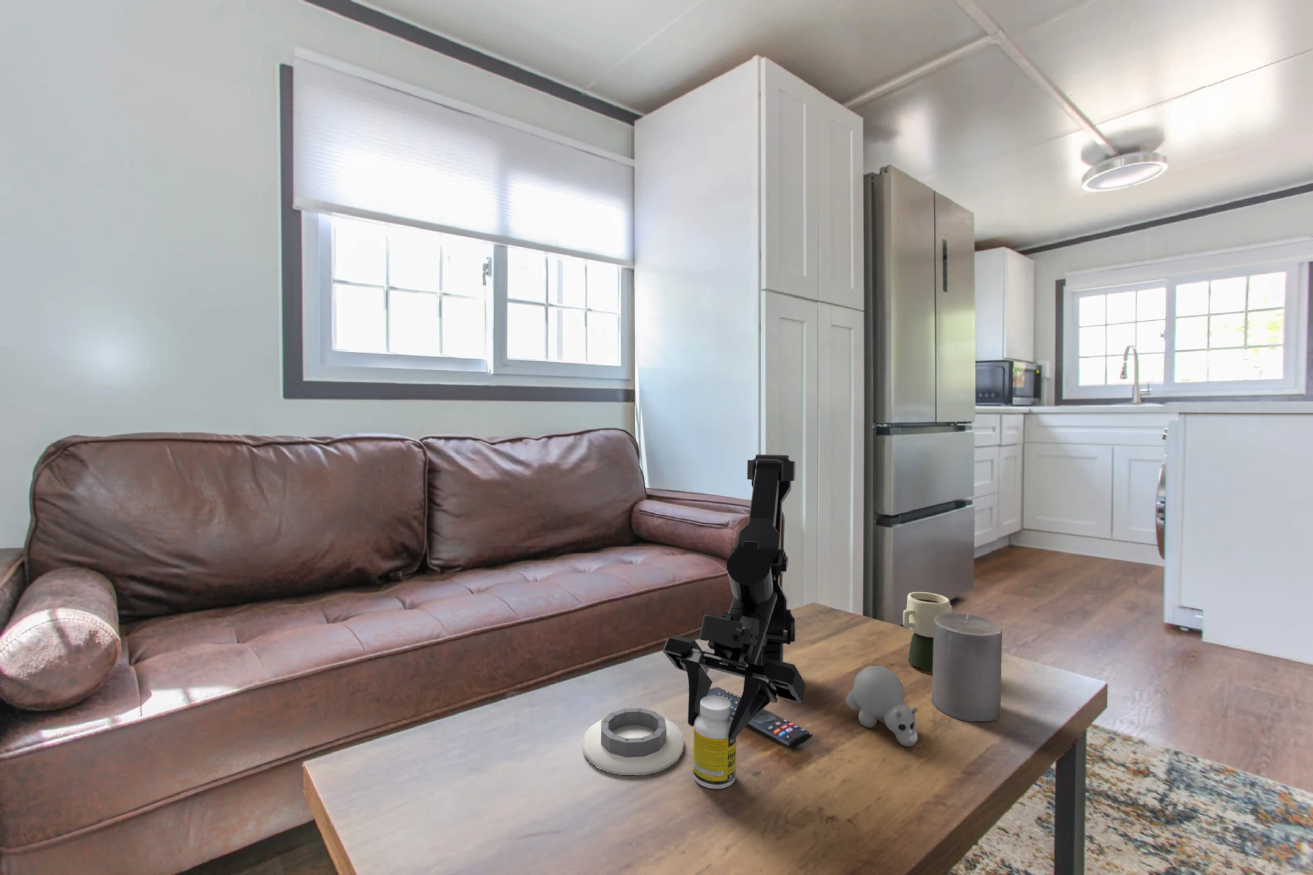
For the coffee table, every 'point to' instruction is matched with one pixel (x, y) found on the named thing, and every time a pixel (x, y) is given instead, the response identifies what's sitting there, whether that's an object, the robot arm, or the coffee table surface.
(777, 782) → the coffee table surface
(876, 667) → the chubby cartoon animal
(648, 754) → the socket collar
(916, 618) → the character mug
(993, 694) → the pillar candle
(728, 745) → the supplement bottle
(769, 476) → the robot arm
